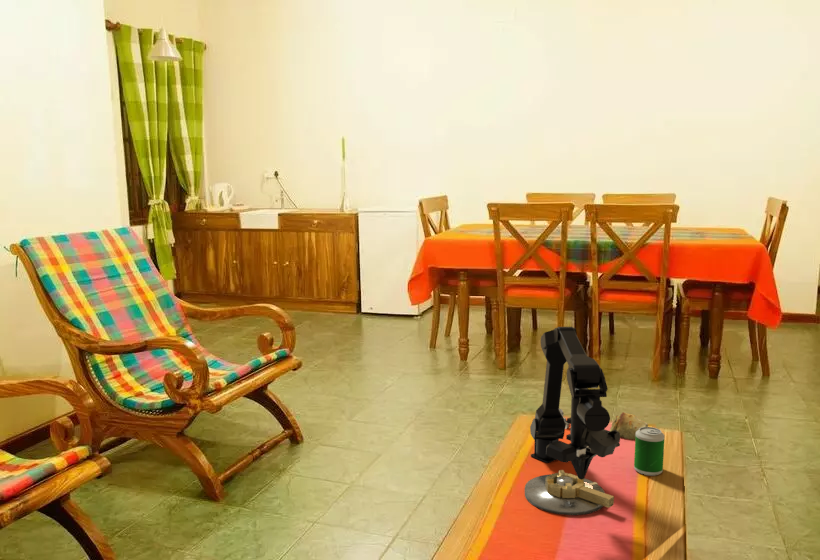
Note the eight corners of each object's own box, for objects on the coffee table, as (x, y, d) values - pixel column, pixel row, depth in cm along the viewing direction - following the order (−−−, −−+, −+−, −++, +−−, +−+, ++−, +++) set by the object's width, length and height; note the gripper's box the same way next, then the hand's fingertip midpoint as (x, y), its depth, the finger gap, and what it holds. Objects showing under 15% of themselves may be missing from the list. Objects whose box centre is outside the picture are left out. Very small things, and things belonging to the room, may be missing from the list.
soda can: (664, 479, 188) (666, 436, 187) (635, 477, 190) (637, 434, 188) (660, 468, 196) (662, 426, 194) (632, 465, 197) (634, 424, 195)
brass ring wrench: (539, 489, 178) (539, 477, 178) (559, 478, 185) (559, 467, 184) (601, 513, 166) (601, 500, 166) (620, 500, 173) (621, 487, 172)
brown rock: (600, 432, 223) (601, 407, 222) (636, 429, 226) (637, 405, 225) (623, 449, 210) (624, 423, 208) (660, 445, 212) (662, 420, 211)
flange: (508, 494, 180) (508, 477, 179) (557, 472, 193) (558, 457, 192) (572, 523, 165) (573, 505, 164) (621, 498, 178) (622, 481, 177)
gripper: (583, 434, 153) (580, 502, 155) (637, 417, 163) (634, 480, 166) (545, 420, 162) (543, 484, 164) (599, 404, 172) (597, 464, 175)
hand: (581, 478), depth 167 cm, fingers closed
